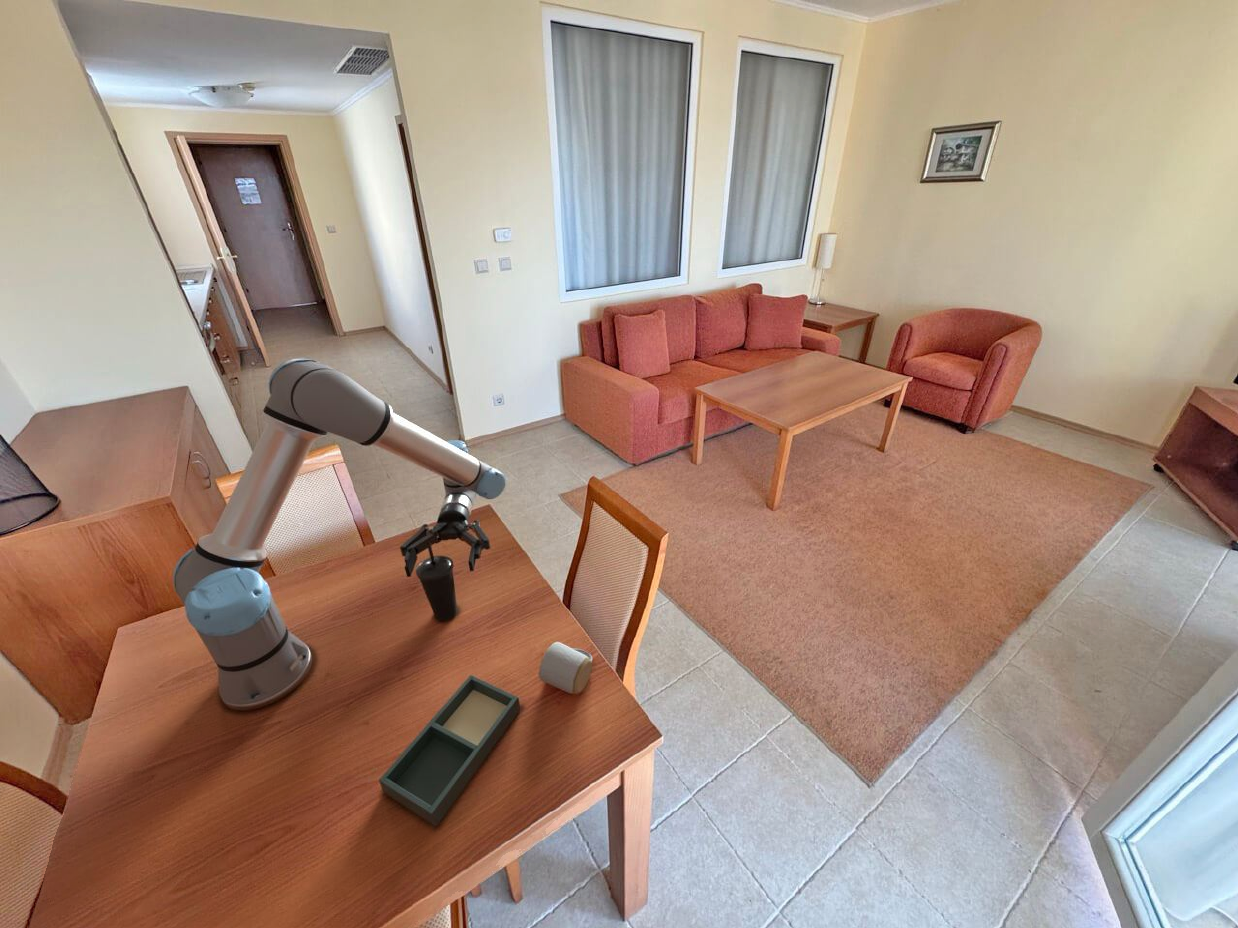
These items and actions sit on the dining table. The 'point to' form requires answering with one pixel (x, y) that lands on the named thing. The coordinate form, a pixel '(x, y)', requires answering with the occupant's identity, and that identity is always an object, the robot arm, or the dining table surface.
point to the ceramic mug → (566, 668)
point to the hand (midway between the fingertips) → (439, 569)
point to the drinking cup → (438, 585)
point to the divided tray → (450, 749)
